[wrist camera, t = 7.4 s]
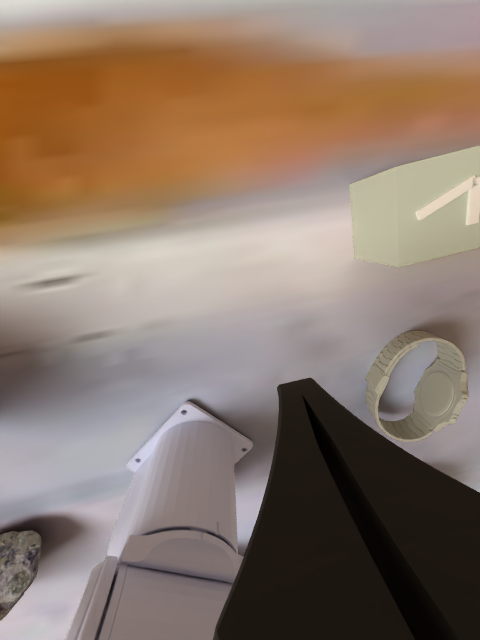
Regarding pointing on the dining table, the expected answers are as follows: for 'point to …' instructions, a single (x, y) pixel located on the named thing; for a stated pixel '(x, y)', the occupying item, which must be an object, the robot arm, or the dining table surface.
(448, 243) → the block marked 7
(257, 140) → the dining table surface
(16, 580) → the mineral rock
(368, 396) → the wristwatch
